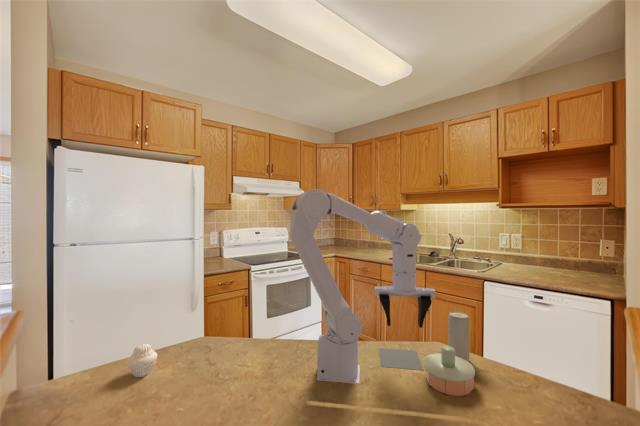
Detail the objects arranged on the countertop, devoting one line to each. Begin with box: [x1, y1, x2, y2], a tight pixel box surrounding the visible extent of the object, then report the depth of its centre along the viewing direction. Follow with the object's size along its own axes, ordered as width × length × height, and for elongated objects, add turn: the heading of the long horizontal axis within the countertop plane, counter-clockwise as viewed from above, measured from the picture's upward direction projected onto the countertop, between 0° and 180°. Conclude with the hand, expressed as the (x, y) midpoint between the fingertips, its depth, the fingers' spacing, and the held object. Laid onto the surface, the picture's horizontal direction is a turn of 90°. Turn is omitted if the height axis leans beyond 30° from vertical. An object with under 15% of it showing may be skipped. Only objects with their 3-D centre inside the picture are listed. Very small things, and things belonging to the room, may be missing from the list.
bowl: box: [425, 369, 475, 397], centre depth 63 cm, size 9×9×4 cm
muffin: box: [126, 343, 158, 378], centre depth 68 cm, size 6×6×7 cm
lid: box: [422, 345, 476, 382], centre depth 64 cm, size 10×10×4 cm
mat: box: [378, 347, 424, 371], centre depth 74 cm, size 10×10×1 cm
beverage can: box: [447, 311, 470, 363], centre depth 74 cm, size 5×5×12 cm
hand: (404, 325), depth 72 cm, fingers open, 7 cm apart
